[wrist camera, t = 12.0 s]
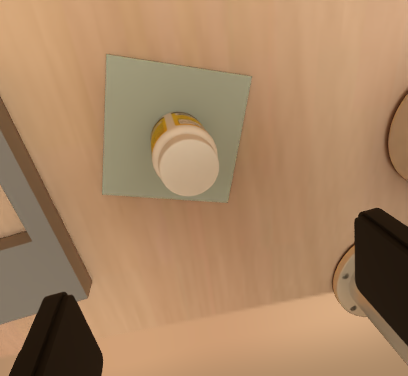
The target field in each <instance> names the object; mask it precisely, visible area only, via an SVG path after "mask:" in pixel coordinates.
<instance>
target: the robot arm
mask: <svg viewBox="0 0 408 376" xmlns="http://www.w3.org/2000/svg"><path fill="white" fill-rule="evenodd" d="M354 226H355V245H354V246H353V247H352V248H351V249H350V250H349V251H348V252H347V253H346V254H345V255H344V257H343V258H342V260H341V261H340V263H339V265H338V267H337V269H336V272H335V274H334V279H333V290H334V294H335V297H336V298H337V300H338V302H339V303H340V304H341V305H342V306H343V308H344V309H345V310H346V311H348V312H349V313H352V314H354V315H357V316H362V317H368V318H369V319H370V320H371V322H372V323H373V324H374V325H375V327H376V328H377V329H378V330H379V331H380V333H381V334H382V335H383V336H384V337H385V339H386V340H387V341H388V342H389V343H390V344H391V346H392V347H393V348H394V349H395V351H396V352H397V353H398V354H399V355H400V357H401V358H402V359H403V360H404V361H405V363H406V364H407V365H408V227H407V226H406V225H404V224H403V223H401V222H400V221H398V220H397V219H395V218H394V217H392V216H391V215H389V214H388V213H386V212H385V211H383V210H382V209H380V208H374V209H370V210H367V211H363V212H360V213H359V215H358V218H356V219H355V222H354ZM102 368H103V356H102V353H101V350H100V348H99V346H98V344H97V342H96V340H95V338H94V336H93V334H92V332H91V330H90V328H89V326H88V324H87V322H86V320H85V318H84V316H83V314H82V311H81V309H80V307H79V305H78V303H77V301H76V299H75V297H74V296H73V295H68V294H67V293H66V292H60V293H57V294H53V295H49V296H46V297H44V299H43V301H42V303H41V305H40V308H39V310H38V312H37V315H36V317H35V319H34V322H33V324H32V326H31V329H30V331H29V333H28V336H27V338H26V340H25V342H24V345H23V347H22V349H21V351H20V352H19V354H18V356H17V358H16V360H15V362H14V365H13V367H12V369H11V372H10V374H9V376H101V374H102Z"/></svg>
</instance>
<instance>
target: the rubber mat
mask: <svg viewBox="0 0 408 376" xmlns="http://www.w3.org/2000/svg"><path fill="white" fill-rule="evenodd" d="M251 79H252V76H247V75H240V74H234V73H227V72H221V71H214V70H207V69H201V68H194V67H188V66H181V65H175V64H168V63H162V62H155V61H148V60H142V59H135V58H129V57H122V56H116V55H109V54H106V85H105V117H104V149H103V182H102V195H116V196H131V197H147V198H162V199H177V200H192V201H207V202H222V203H228V199H229V194H230V189H231V184H232V179H233V173H234V168H235V163H236V158H237V152H238V147H239V142H240V137H241V132H242V126H243V121H244V116H245V111H246V105H247V100H248V95H249V90H250V85H251ZM171 112H185V113H188V114H190V115H192V116H194V117H195V118H196V119H197V120H198V121H199V122H200V123H201V125H202V126H203V127H204V128H205V130H206V131H207V132H208V133H209V135H210V136H211V137H212V139H213V140H214V142H215V145H216V148H217V153H218V160H219V173H218V176H217V178H216V180H215V182H214V184H213V185H212V186H211V187H210V188H209V189H208V190H206V191H205V192H203V193H201V194H199V195H195V196H181V195H178V194H175V193H173V192H172V191H170V190H169V189H168V188H167V187H166V186H165V185H164V183H163V182H162V180H161V179H160V177H159V176H158V175H157V173H156V171H155V169H154V167H153V163H152V152H151V132H152V129H153V126H154V125H155V123H156V122H157V121H158V120H159V119H160V118H161V117H162V116H164V115H166V114H168V113H171Z"/></svg>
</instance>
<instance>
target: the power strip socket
mask: <svg viewBox="0 0 408 376" xmlns="http://www.w3.org/2000/svg"><path fill="white" fill-rule="evenodd" d="M0 185H1V186H2V188H3V190H4V192H5V194H6V195H7V197H8V199H9V201H10V203H11V204H12V206H13V208H14V210H15V211H16V213H17V215H18V217H19V219H20V220H21V222H22V224H23V226H24V227H25V229H26V232H22V233H19V234H15V235H12V236H8V237H5V238H1V239H0V325H1V324H4V323H7V322H11V321H14V320H17V319H21V318H24V317H27V316H31V315H34V314H37V312H38V310H39V308H40V305H41V303H42V301H43V299H44V297H46V296H49V295H53V294H57V293H60V292H66V293H67V294H68V295H73V296H74V297H75V299H76V301H80V300H84V299H87V298H88V296H89V292H90V288H91V284H92V280H91V278H90V276H89V274H88V272H87V270H86V268H85V266H84V264H83V262H82V260H81V258H80V256H79V254H78V252H77V250H76V248H75V246H74V244H73V242H72V240H71V238H70V236H69V234H68V232H67V230H66V228H65V226H64V224H63V222H62V220H61V218H60V216H59V214H58V212H57V210H56V208H55V206H54V204H53V202H52V200H51V198H50V196H49V194H48V192H47V190H46V188H45V186H44V184H43V182H42V180H41V178H40V176H39V174H38V172H37V170H36V168H35V166H34V164H33V162H32V160H31V158H30V156H29V154H28V152H27V150H26V148H25V146H24V144H23V142H22V140H21V138H20V136H19V134H18V132H17V130H16V128H15V126H14V124H13V122H12V120H11V118H10V116H9V114H8V112H7V110H6V108H5V106H4V104H3V101H2V99H1V97H0Z"/></svg>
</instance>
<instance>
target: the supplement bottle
mask: <svg viewBox="0 0 408 376" xmlns="http://www.w3.org/2000/svg"><path fill="white" fill-rule="evenodd" d="M151 152H152V163H153V167H154V169H155V171H156V173H157V175H158V176H159V177H160V179H161V180H162V182H163V183H164V185H165V186H166V187H167V188H168V189H169V190H170V191H172V192H173V193H175V194H178V195H181V196H195V195H199V194H201V193H203V192H205V191H206V190H208V189H209V188H210V187H211V186H212V185H213V184H214V182H215V180H216V178H217V176H218V173H219V160H218V153H217V148H216V145H215V142H214V140H213V139H212V137H211V136H210V135H209V133H208V132H207V131H206V130H205V128H204V127H203V126H202V125H201V123H200V122H199V121H198V120H197V119H196V118H195V117H194V116H192V115H190V114H188V113H185V112H171V113H168V114H166V115H164V116H162V117H161V118H160V119H159V120H158V121H157V122H156V123H155V125H154V126H153V129H152V132H151Z"/></svg>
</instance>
